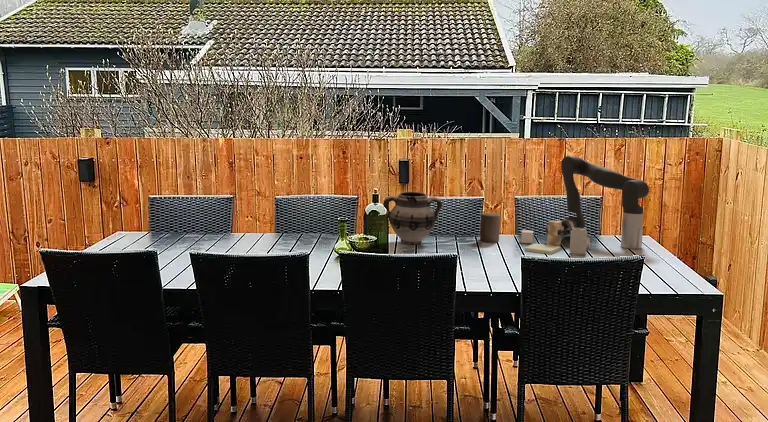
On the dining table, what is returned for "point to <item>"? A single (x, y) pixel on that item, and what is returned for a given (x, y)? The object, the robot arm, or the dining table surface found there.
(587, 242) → the steel puck
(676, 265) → the dining table surface
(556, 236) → the oak block
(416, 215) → the ceramic pot
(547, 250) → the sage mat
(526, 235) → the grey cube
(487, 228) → the pillar candle
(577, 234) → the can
